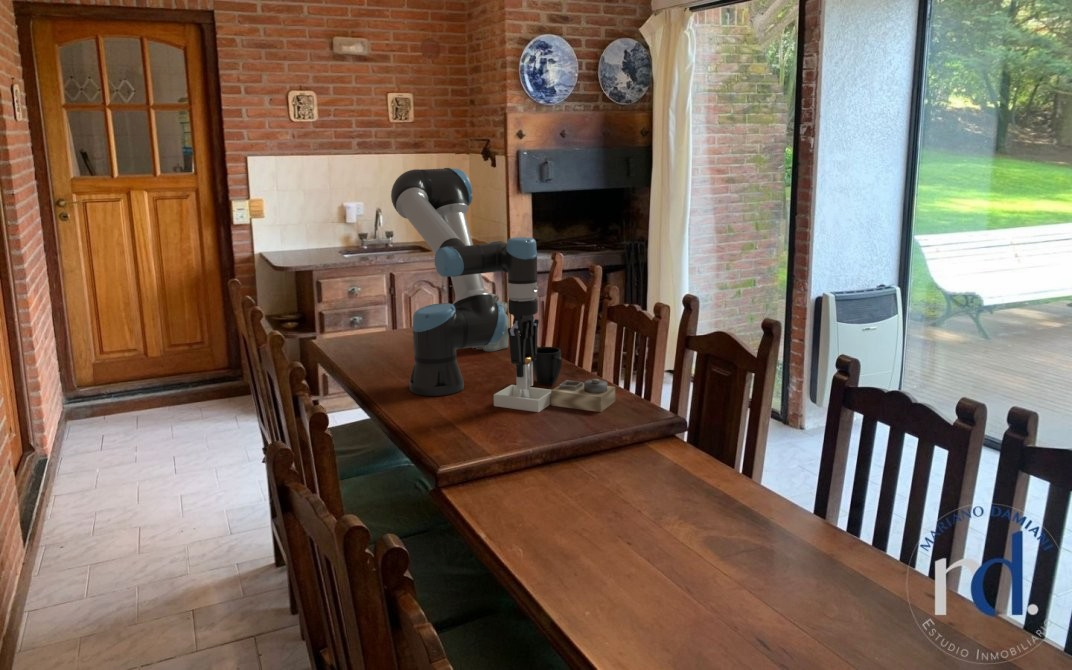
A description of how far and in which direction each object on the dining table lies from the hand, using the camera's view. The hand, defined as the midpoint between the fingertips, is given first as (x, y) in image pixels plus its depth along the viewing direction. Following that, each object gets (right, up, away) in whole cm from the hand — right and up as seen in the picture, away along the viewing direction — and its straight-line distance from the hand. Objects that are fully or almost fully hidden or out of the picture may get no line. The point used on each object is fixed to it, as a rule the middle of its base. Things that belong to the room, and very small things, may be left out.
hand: (524, 386), depth 225 cm
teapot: (-14, +9, +64) cm, 66 cm away
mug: (+7, -1, +19) cm, 20 cm away
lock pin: (0, -4, +1) cm, 4 cm away
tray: (0, -5, +1) cm, 5 cm away
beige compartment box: (+15, -4, +1) cm, 16 cm away
